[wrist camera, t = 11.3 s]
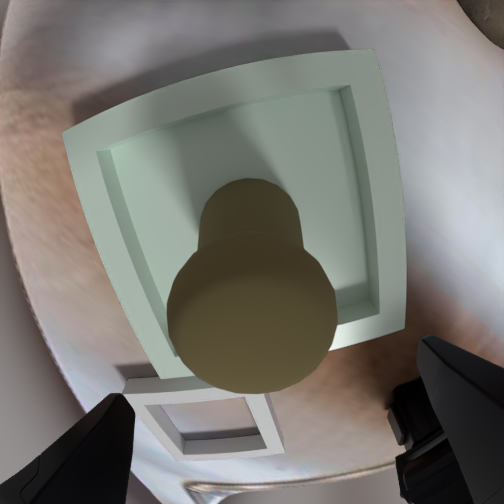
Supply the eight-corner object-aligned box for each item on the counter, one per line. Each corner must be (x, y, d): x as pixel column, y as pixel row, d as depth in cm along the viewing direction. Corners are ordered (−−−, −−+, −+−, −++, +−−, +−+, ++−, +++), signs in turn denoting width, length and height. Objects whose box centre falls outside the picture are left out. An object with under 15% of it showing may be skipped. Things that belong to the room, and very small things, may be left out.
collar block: (258, 363, 22) (259, 380, 20) (283, 437, 26) (285, 452, 24) (128, 378, 23) (121, 394, 21) (178, 447, 27) (176, 460, 25)
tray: (358, 59, 14) (373, 49, 12) (391, 310, 21) (404, 328, 18) (82, 132, 16) (61, 132, 13) (167, 357, 22) (160, 379, 20)
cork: (298, 174, 16) (377, 232, 6) (302, 270, 19) (351, 408, 8) (193, 183, 16) (110, 254, 6) (207, 278, 19) (170, 420, 8)
